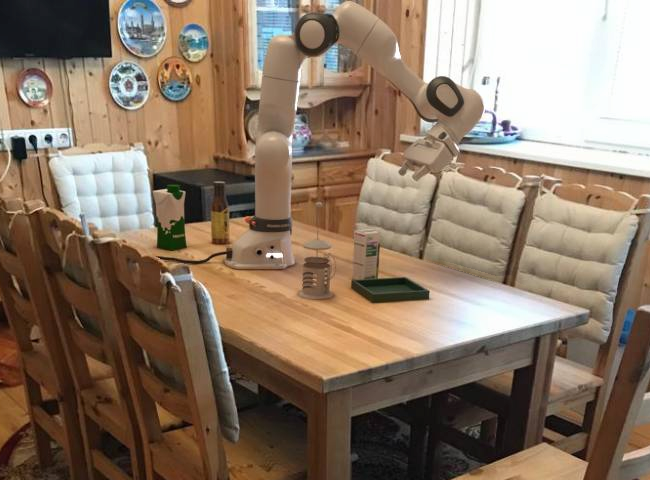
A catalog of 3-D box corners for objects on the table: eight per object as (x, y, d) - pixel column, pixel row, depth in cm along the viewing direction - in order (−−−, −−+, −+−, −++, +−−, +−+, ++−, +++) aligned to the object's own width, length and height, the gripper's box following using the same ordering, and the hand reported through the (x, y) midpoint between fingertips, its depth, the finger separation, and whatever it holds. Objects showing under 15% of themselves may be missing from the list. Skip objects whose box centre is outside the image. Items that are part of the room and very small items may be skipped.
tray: (372, 303, 226) (373, 294, 225) (351, 288, 239) (351, 280, 238) (428, 299, 232) (429, 290, 231) (405, 284, 245) (405, 276, 244)
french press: (316, 287, 238) (319, 197, 225) (344, 296, 231) (349, 204, 218) (291, 293, 232) (293, 201, 219) (319, 302, 224) (323, 207, 212)
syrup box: (363, 283, 245) (366, 233, 237) (351, 278, 249) (354, 229, 242) (378, 280, 248) (381, 231, 241) (366, 276, 252) (369, 227, 245)
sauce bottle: (228, 245, 281) (227, 184, 272) (210, 244, 281) (208, 183, 271) (230, 241, 287) (229, 181, 277) (213, 240, 287) (211, 180, 277)
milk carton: (171, 251, 270) (168, 187, 260) (152, 247, 274) (148, 184, 264) (190, 247, 276) (188, 184, 266) (171, 243, 280) (168, 181, 270)
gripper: (418, 128, 246) (386, 163, 247) (451, 136, 229) (416, 173, 231) (429, 145, 249) (398, 179, 251) (462, 153, 233) (428, 190, 234)
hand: (407, 176), depth 241 cm, fingers open, 8 cm apart
